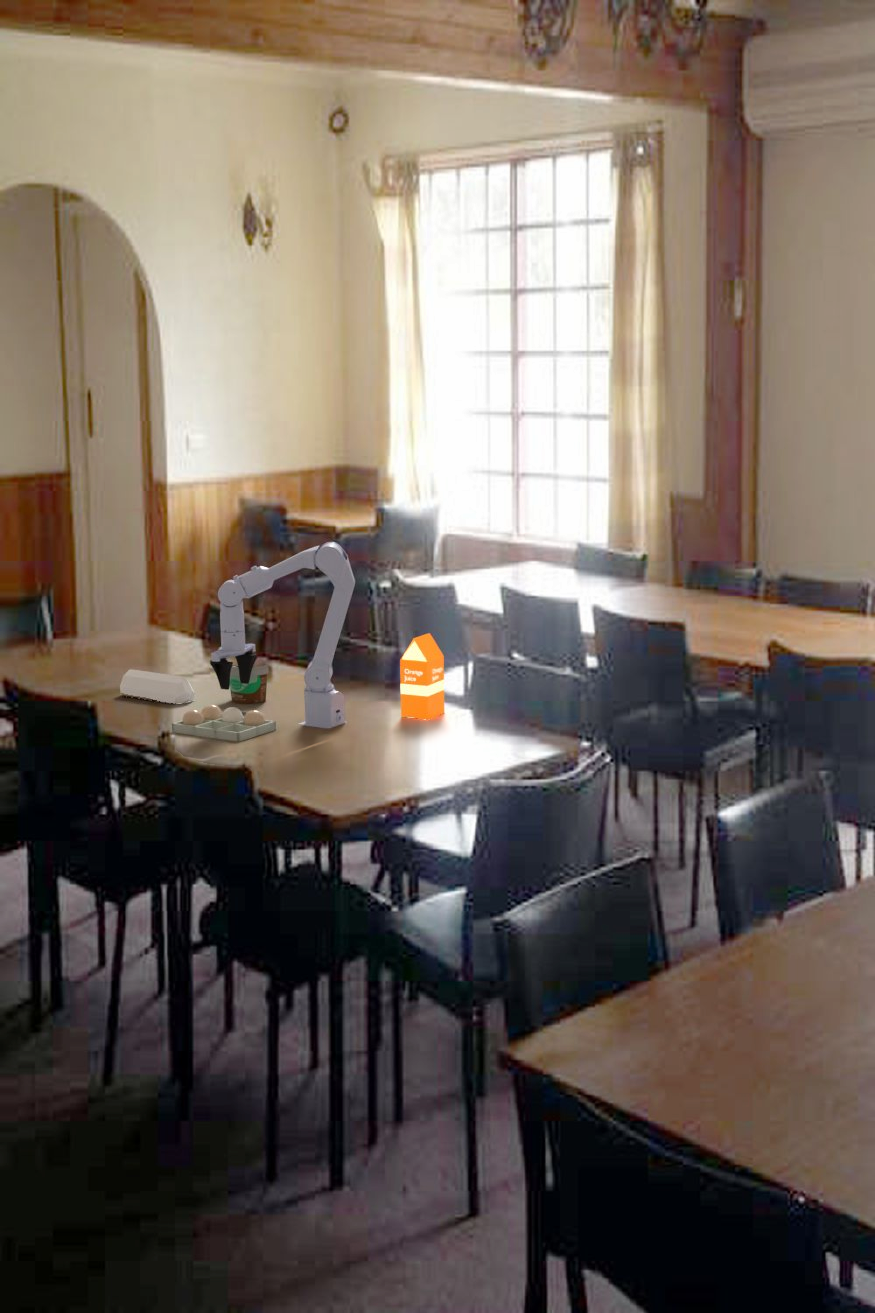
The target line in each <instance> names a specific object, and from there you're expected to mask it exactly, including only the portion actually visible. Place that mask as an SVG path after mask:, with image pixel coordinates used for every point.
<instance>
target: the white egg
mask: <svg viewBox="0 0 875 1313" xmlns="http://www.w3.org/2000/svg"><path fill="white" fill-rule="evenodd" d="M241 711H242V710H240V709H239V708H238V707H234V706H232V707H227V708H225V709H224V711H223V712H222V721H223V722H227V723H238V722H241V721H242V720H243V717H244V715H242V712H243V711H242V712H241Z"/></svg>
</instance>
